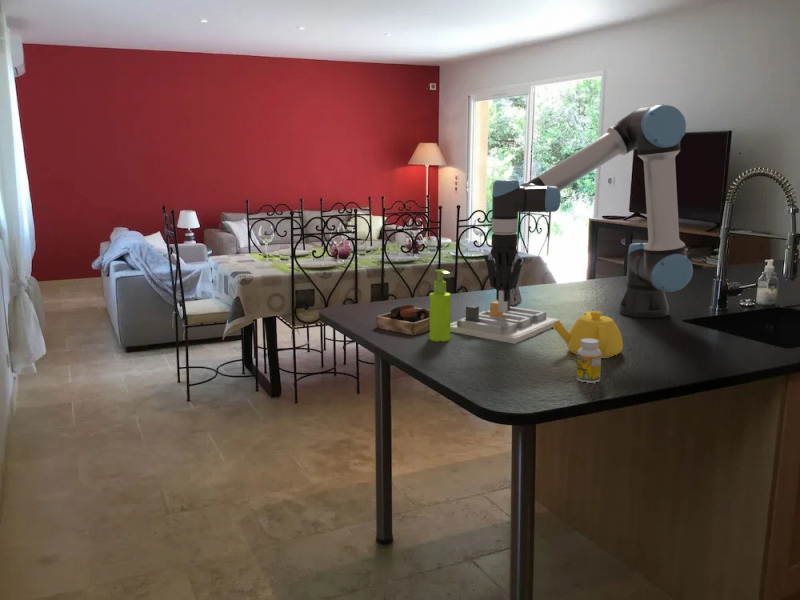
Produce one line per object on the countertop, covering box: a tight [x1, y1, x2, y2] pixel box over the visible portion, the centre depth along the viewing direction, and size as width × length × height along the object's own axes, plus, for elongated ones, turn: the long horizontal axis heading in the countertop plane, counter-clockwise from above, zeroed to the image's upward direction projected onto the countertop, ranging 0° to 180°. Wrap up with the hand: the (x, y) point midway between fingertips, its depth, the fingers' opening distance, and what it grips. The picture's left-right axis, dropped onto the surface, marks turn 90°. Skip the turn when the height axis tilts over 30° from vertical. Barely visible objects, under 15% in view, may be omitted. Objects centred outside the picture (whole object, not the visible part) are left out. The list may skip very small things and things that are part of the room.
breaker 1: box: [465, 304, 480, 322], centre depth 204 cm, size 3×3×6 cm
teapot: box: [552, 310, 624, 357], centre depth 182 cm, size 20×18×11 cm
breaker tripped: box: [489, 300, 503, 318], centre depth 209 cm, size 3×3×6 cm
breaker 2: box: [497, 300, 511, 311], centre depth 218 cm, size 3×3×6 cm
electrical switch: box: [510, 282, 523, 307], centre depth 240 cm, size 9×5×9 cm, turn 152°
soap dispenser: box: [429, 268, 451, 342], centre depth 194 cm, size 6×7×20 cm
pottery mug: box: [390, 304, 429, 323], centre depth 209 cm, size 12×10×8 cm
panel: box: [450, 306, 561, 345], centre depth 208 cm, size 24×27×4 cm
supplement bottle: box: [576, 338, 602, 384], centre depth 160 cm, size 5×5×10 cm
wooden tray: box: [375, 306, 430, 336], centre depth 211 cm, size 15×17×4 cm
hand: (502, 311), depth 208 cm, fingers closed
